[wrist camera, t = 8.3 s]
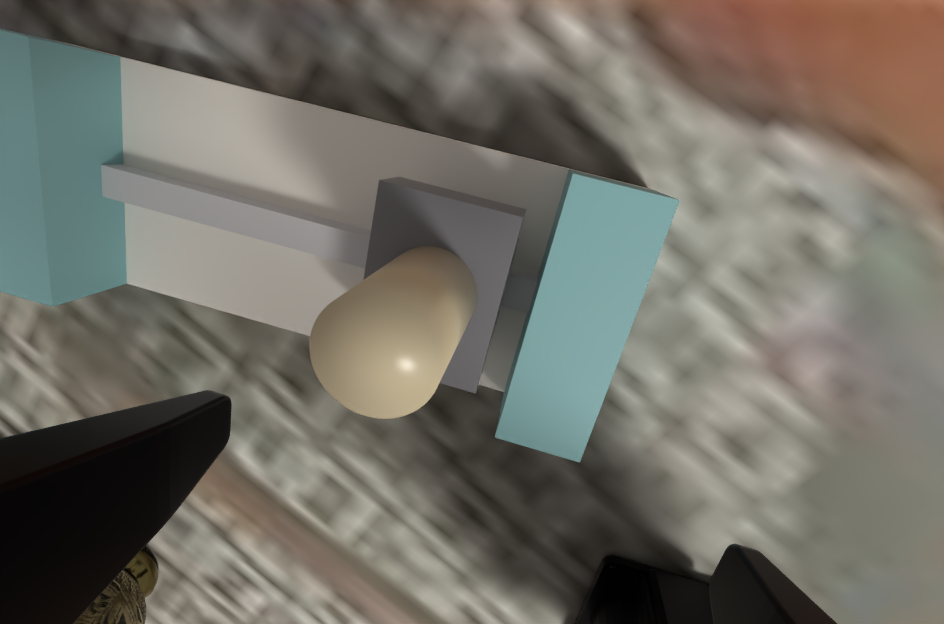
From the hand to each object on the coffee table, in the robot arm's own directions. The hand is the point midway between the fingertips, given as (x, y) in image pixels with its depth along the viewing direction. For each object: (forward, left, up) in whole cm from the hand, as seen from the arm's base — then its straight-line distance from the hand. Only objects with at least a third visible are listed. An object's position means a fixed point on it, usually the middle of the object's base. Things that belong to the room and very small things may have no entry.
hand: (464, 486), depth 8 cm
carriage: (+1, +3, -10) cm, 11 cm away
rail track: (+1, +8, -12) cm, 14 cm away
